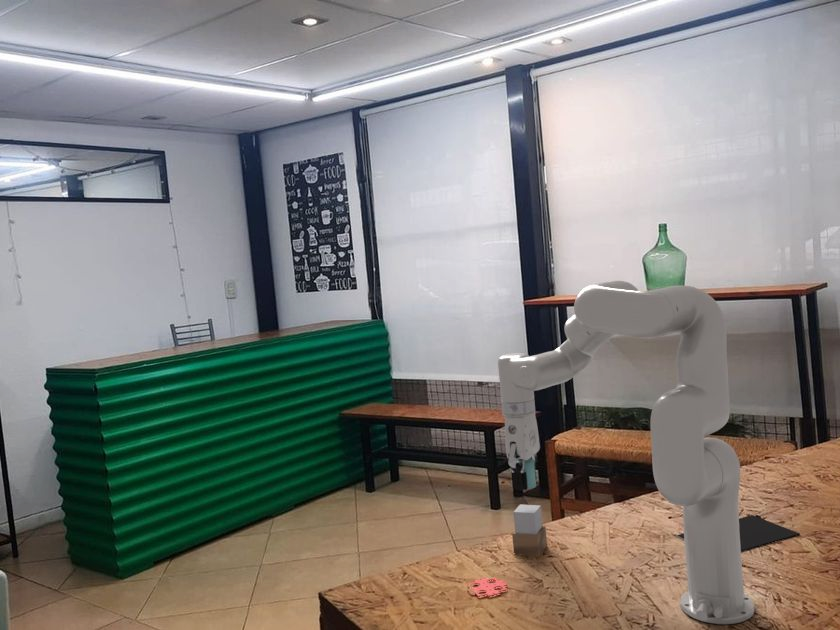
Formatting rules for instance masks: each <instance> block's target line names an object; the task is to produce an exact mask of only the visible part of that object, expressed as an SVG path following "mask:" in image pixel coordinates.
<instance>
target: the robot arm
mask: <svg viewBox="0 0 840 630" xmlns="http://www.w3.org/2000/svg"><path fill="white" fill-rule="evenodd" d="M573 310H574V313H573V314H572V315H571V316H570V317H569V318H568V319H567V320H566V322H565V323H564V326H563V327H564V334H565V337H566V340H565V341H564V342H563V343H562V344H561V345H559V347H557V348H556V349H554V350H550V351H546V352H542V353H538V354H534V355H529V354H528V353H523V352H512V353H505V354H502V355H501V356H500V357H499V358H498V359H497V366H498V367H497V368H498V378H499V379H498V380H499V386H500V387H499V389H500V401H501V414H502V416H503V417H504V440H505V441H504V442H505V451H506V458H507V459H508V462H507V463H508V465H509V467H510V468H511V469H510V470H511V473H512V474H511V475H512V483H513V489H514V490H519V489H520V491H527V488H528V486H527V474H526V472H525V460H528V459H530V458H532V459H534V467H535V468H536V458H535V454H537V453H538V452H539V451H540V449H541V444H540V435H539V430H538V429H539V428H538V422H537V417H536V405H535V404H536V403H535V401H536V400H535V391H540V390H543V389H547V388H550V387H552V386H556V385H560V384H565V383H566V382H568V381H569V380H570V381H571V380H572V378H575V376H577V375H578V374H579V373H580V372H581V371H583V370H584V369H585V368H586V367H587V366H588V365H589V364H590V363H591V362H592V361H593V359H594V357H595V356H596V353H597V351H598V349H599V348H601V347H602V346H603V345H604V344H605V343H607V342H608V341H609V340H610V339H611V338H612V337H614V336H615V335H618V336H624V337H631V338H637V339H643V340H644V339H646V340H647V339H649V340H651V339H657V338H661V337H664V336H668V335H673V334H675V333H678V334H679V335H680V341H679V344H678V347H677V352H676V362H675V363H676V376H677V377H676V380H677V381H676V387H675V388H673V389H671V390H668V391H666V392H664V393H662V395H661V394H660V396H659V397H658V398H657V399H656V401H655V402H654V405H653V407H652V409H651V414H650V423H649V424H650V441H651V444H650V445H651V459H652V472H653V473H652V474H653V478H654V479H653V480H654V483H655V485H656V487H657V490H658V492H659V493H660V495H661V496H662V497H663V498H664V499H665V500H666V501H667V502H668V503H670V504H671V505H674V506H677V507H682V522H683V525H682V526H683V527H682V528H683V533H684V540H685V541H684V540H683V541H684V549H685V550H684V551H685V552H684V553H685V563H686V564H685V565H686V580H687V591H685V592H684V593H683V594H682V595H681V596H680V600H679V601H680V607H681V610H683V612H684V613H686V614H687V615H688V616H689V617H691V618H693V619H696V620H698V621H701V622H704V623H709V624H715V625H716V624H717V625H734V624H740V623H743V622H745V621H747V620H749V619H750V618H752V617H753V615H754V614H755V604H754V602H753V600H752V599H751V598H750V597H749V596H748V595H746V594H744V593H745V591H744V577H743V563H742V552H741V547H740V533H739V518H740V516H739V497H740V496H739V494H740V484H741V463H740V459H739V457H738V455H737V453H736V451H735V450H734V448H733V447H732V446H731V445H730V444H729V443H727V442H726V441H724V440H722V439H721V438H716V437H708V436H710V435H712V434H713V433H716V432H718V431H719V430H721V429H722V428H723V427H724V426H725V425H727V423H728V421H729V419H730V412H731V410H730V409H731V408H730V407H731V406H730V387H729V372H728V371H729V369H728V357H727V351H728V350H727V349H728V348H727V342H728V341H727V337H728V336H727V323H726V319H725V315H724V313H723V310H722V309H721V307H720V305H719V304H718V303H717V301H716V300H715V299H714V298H713V297H712V296H711V295H710V294H708V293H707V292H706V291H704V290H702V289H700V288H697V287H695V286H691V285H671V286H664V287H661V288H656V289H650V290H644V291H642V290H639V289H638V288H637V287H636V286H634V285H633V284H632V283H630V282H628V281H625V280H612V281H606V282H605V281H604V282H599V283H594V284H590V285H587V286H585V287H584V288H583V289H581V290H580V291H579V293H578V294H577V295H576V298H575V301H574V304H573ZM519 458H521V459H519ZM516 461H521V466H520V464H519V463H517V462H516ZM536 472H537V471H536V470H535V479H536V480H537V473H536Z"/></svg>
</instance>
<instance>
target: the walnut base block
mask: <svg viewBox="0 0 840 630" xmlns="http://www.w3.org/2000/svg"><path fill="white" fill-rule="evenodd" d="M511 535H512V546H513V554H514V553H515V554H514V555H518V554H521V555H520V556H527V555H528V556H529V557H537V558H539V557H540V556H541V555H542V554H543V552H545V550H546V549H547V547H548V539H547V528H546V525H543V527H542V528H541V529H540V531H539V532H538V533H537V535H534V534H521V533H515V530H514V531H513V532H511Z"/></svg>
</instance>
